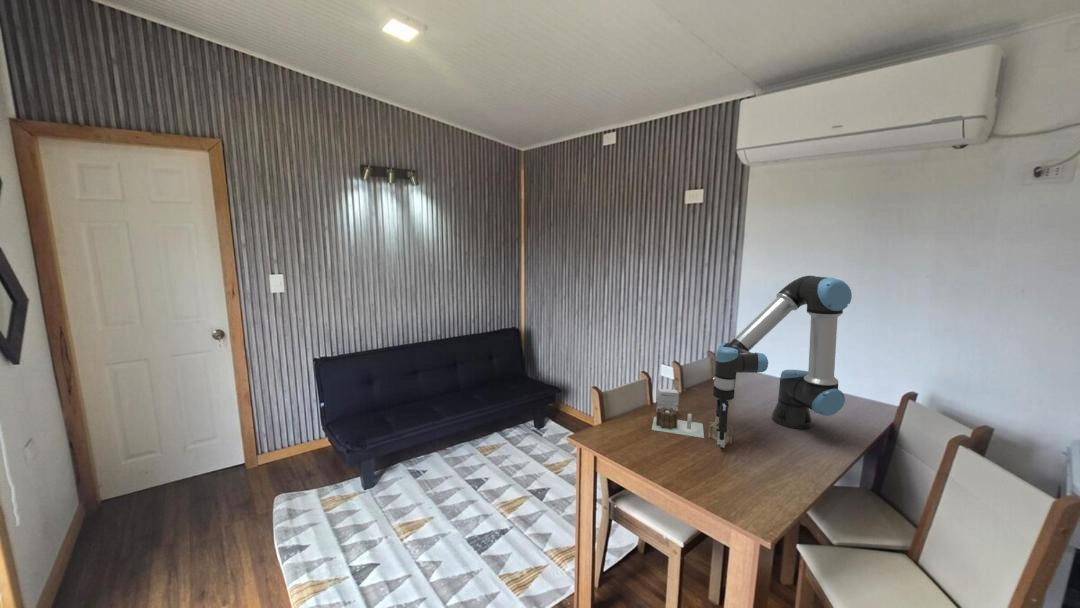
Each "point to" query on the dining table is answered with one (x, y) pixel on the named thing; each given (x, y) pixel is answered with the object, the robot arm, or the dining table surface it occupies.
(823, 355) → the robot arm
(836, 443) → the dining table surface
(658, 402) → the ink box
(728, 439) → the gear
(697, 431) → the gear board
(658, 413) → the gear
